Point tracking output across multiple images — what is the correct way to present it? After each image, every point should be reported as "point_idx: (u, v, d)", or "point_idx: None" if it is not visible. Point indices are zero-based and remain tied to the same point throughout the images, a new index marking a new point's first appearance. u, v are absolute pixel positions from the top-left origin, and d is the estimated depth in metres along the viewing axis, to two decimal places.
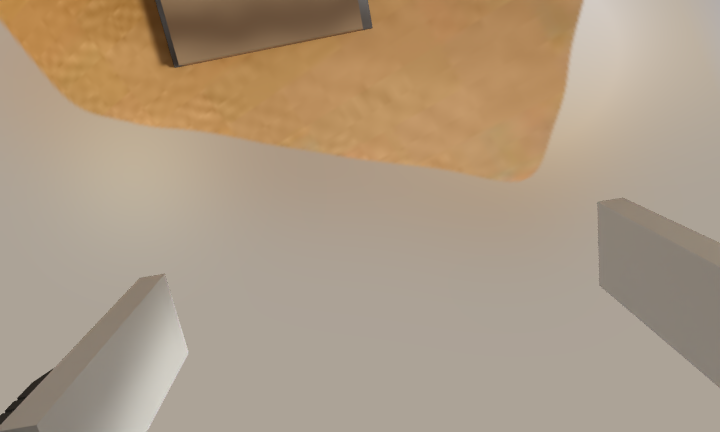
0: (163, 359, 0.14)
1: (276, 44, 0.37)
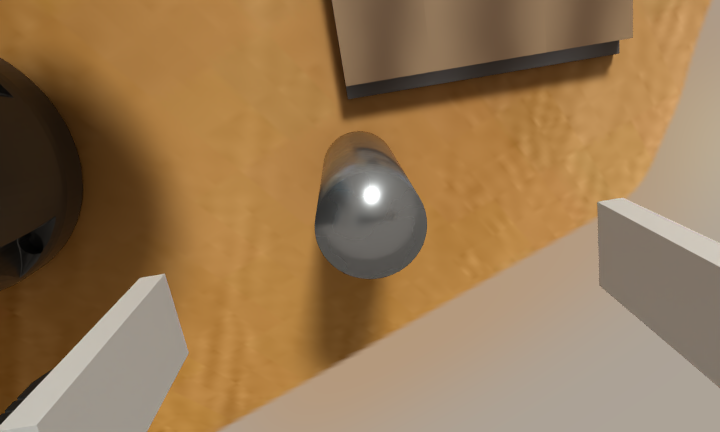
0: (163, 359, 0.14)
1: None
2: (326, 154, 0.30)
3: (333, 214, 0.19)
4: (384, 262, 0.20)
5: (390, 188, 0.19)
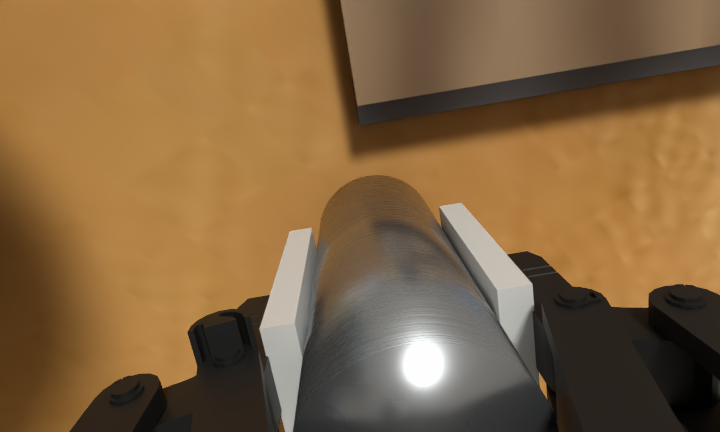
0: None
1: None
2: (324, 213, 0.19)
3: None
4: None
5: (476, 379, 0.08)
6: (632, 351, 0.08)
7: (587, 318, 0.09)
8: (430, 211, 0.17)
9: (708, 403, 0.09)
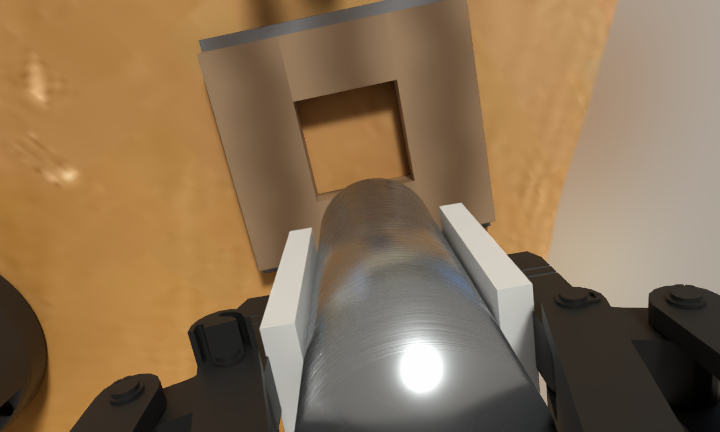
0: None
1: (479, 108, 0.31)
2: (324, 216, 0.19)
3: None
4: None
5: (477, 386, 0.08)
6: (632, 351, 0.08)
7: (587, 318, 0.09)
8: (430, 214, 0.17)
9: (709, 403, 0.09)
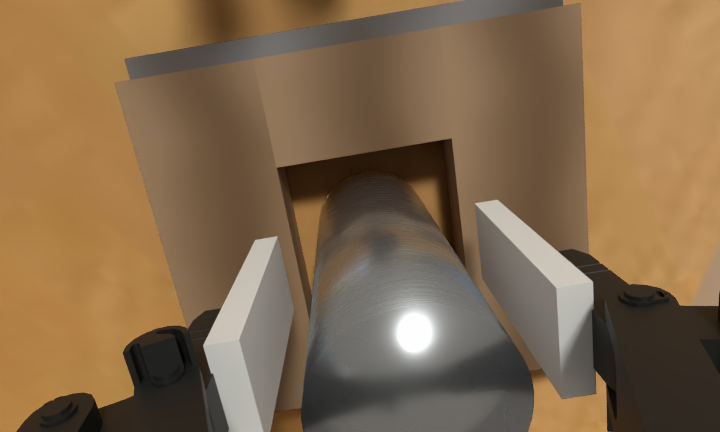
0: (283, 310, 0.15)
1: (584, 189, 0.19)
2: (323, 206, 0.20)
3: (341, 391, 0.09)
4: None
5: (462, 338, 0.09)
6: (702, 353, 0.08)
7: (654, 317, 0.09)
8: (422, 203, 0.19)
9: None
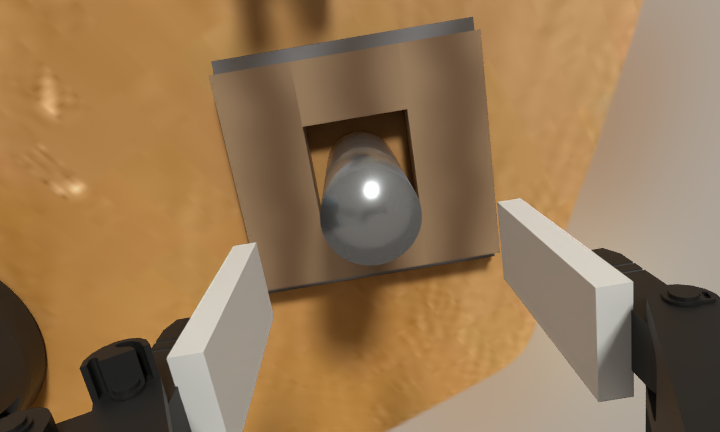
0: (261, 317, 0.15)
1: (488, 140, 0.31)
2: (330, 153, 0.32)
3: (337, 206, 0.21)
4: (383, 250, 0.22)
5: (388, 182, 0.21)
6: None
7: (698, 318, 0.09)
8: (390, 149, 0.31)
9: None
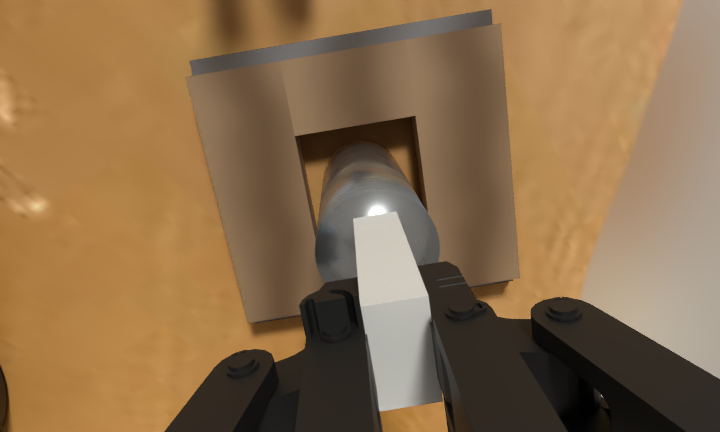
0: None
1: (508, 152, 0.27)
2: (326, 165, 0.28)
3: (336, 238, 0.17)
4: None
5: (399, 209, 0.17)
6: (518, 357, 0.08)
7: (476, 329, 0.09)
8: (395, 161, 0.27)
9: (591, 411, 0.10)
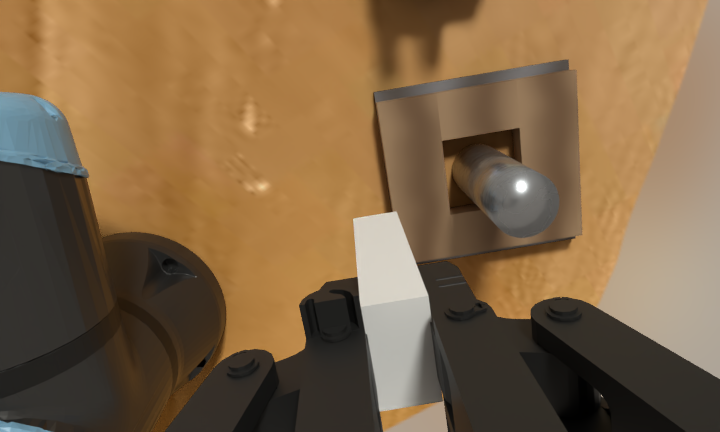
0: None
1: (578, 151, 0.41)
2: (456, 159, 0.43)
3: (503, 197, 0.32)
4: (531, 227, 0.33)
5: (539, 181, 0.32)
6: (518, 358, 0.08)
7: (476, 329, 0.09)
8: None
9: (590, 411, 0.10)
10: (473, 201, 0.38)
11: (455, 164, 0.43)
